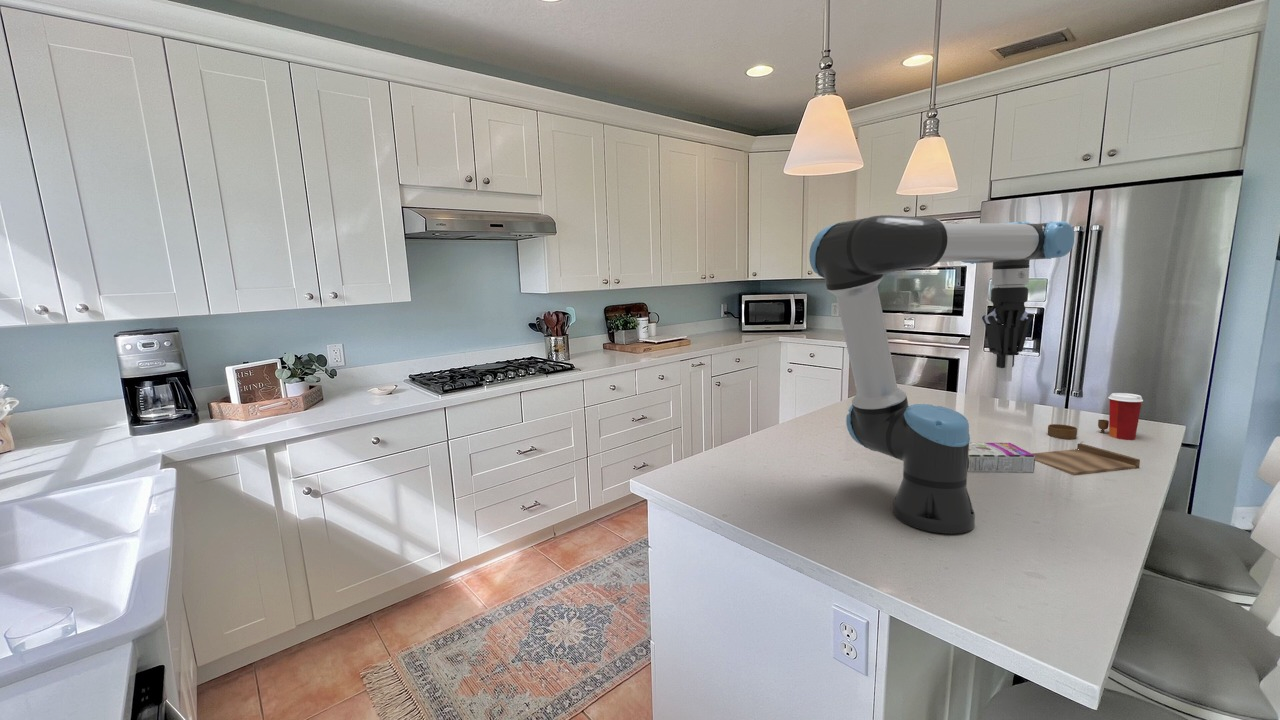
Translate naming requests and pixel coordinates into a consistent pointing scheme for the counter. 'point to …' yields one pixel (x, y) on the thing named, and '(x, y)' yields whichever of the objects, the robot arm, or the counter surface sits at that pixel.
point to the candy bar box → (999, 458)
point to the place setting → (1071, 430)
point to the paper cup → (1124, 415)
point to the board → (1086, 460)
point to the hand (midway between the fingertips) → (1004, 380)
